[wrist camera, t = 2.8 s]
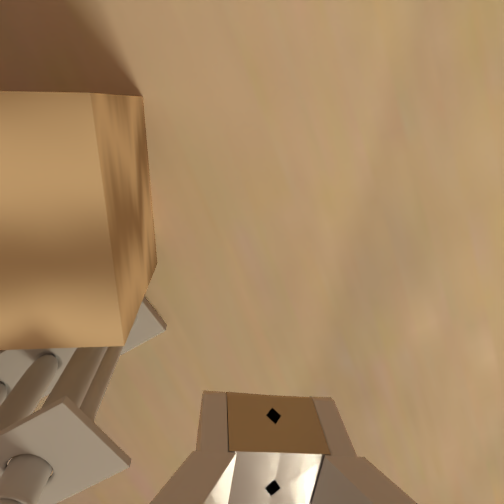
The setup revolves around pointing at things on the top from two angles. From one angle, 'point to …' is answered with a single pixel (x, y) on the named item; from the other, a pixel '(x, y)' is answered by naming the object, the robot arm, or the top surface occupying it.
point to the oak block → (73, 219)
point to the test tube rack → (60, 417)
